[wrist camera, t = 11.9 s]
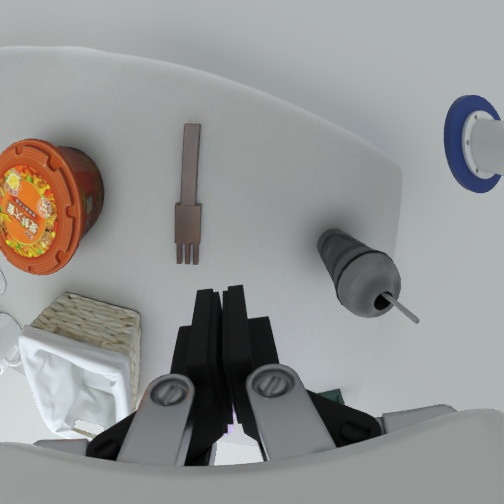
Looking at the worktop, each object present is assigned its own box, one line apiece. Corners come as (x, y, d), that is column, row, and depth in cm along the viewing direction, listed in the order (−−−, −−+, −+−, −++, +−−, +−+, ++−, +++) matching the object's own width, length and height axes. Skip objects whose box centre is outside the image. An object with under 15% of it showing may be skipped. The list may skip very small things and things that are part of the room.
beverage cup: (300, 233, 38) (360, 318, 20) (347, 210, 38) (436, 274, 19) (318, 276, 41) (375, 373, 23) (361, 254, 40) (440, 334, 22)
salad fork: (206, 124, 32) (205, 124, 31) (199, 262, 39) (199, 265, 38) (180, 124, 32) (178, 123, 31) (176, 260, 39) (175, 264, 37)
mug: (42, 354, 44) (22, 387, 34) (2, 338, 42) (-19, 366, 33) (34, 323, 41) (9, 355, 32) (-7, 308, 39) (-32, 335, 30)
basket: (59, 279, 38) (10, 333, 24) (151, 305, 41) (125, 375, 27) (71, 379, 46) (47, 432, 32) (144, 400, 49) (131, 461, 35)
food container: (23, 230, 34) (-19, 255, 25) (36, 128, 29) (-12, 131, 19) (104, 259, 38) (72, 297, 28) (127, 148, 32) (91, 154, 22)
